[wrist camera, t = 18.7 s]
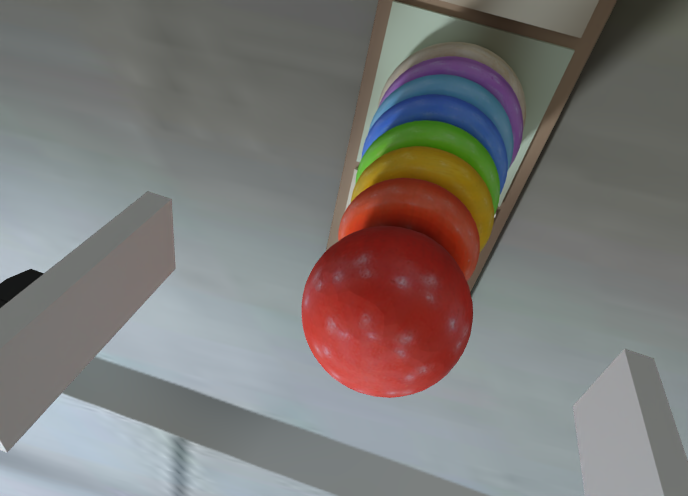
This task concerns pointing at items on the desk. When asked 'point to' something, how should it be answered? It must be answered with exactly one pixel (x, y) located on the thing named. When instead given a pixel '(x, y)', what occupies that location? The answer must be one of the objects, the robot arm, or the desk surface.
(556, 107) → the board
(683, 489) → the robot arm
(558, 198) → the desk surface
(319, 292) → the stacking toy
